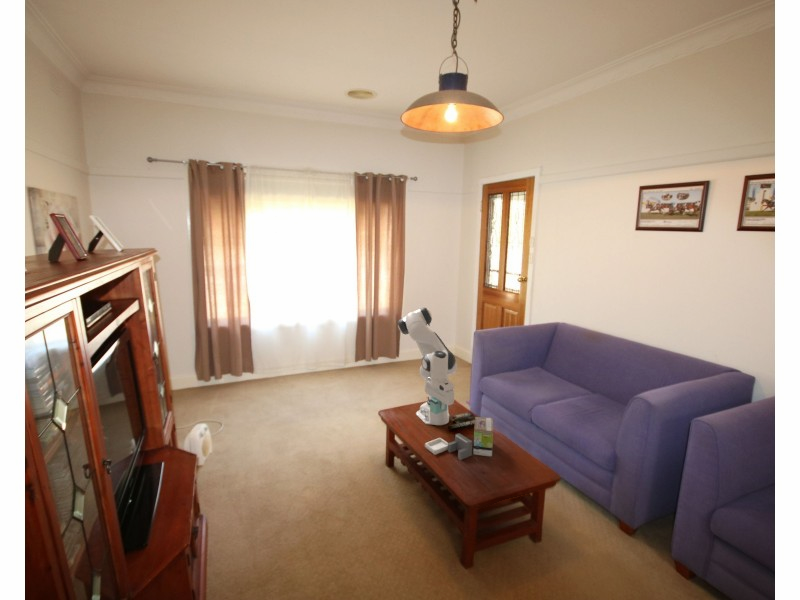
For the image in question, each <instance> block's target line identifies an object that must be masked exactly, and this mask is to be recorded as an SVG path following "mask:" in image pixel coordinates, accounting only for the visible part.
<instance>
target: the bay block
mask: <svg viewBox="0 0 800 600" xmlns="http://www.w3.org/2000/svg"><path fill="white" fill-rule="evenodd" d="M447 443H448V450H447V452H448V453H450V454H451V453H453V452H455V451H457V458H458V460H459V461H462V460H464V459H467V458H469V457H471V456H472V455H473V440H471V439H469V438H468V437H466V436H464V435H463V434H461V433H456V434H454V441H451V442H447Z"/></svg>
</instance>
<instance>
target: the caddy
mask: <svg viewBox="0 0 800 600" xmlns="http://www.w3.org/2000/svg"><path fill="white" fill-rule="evenodd" d="M440 405H442V403H441V401H439V400H437V399H435V398H431V399H430V411H431V412H432V413H434V414H438V413H441V412H444V411H447V405H446V404H445V406H444V409H441V408H440Z"/></svg>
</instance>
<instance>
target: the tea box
mask: <svg viewBox="0 0 800 600" xmlns="http://www.w3.org/2000/svg"><path fill="white" fill-rule="evenodd" d="M473 429H474V430H473V446H472V455H476V456H483V457H484V456H485V457H492V456H493V449H494V447H493V444H494V433H495V431H494V419H493V417H483V416H482V417H481V416H475V418H474V427H473Z"/></svg>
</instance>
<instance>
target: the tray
mask: <svg viewBox="0 0 800 600" xmlns="http://www.w3.org/2000/svg"><path fill="white" fill-rule="evenodd" d="M448 443H449V442H448V441H446V440H444V439H443V438H441V437H438V438H436V439H432V440H430V441H428V442H427V441H426V442H425V443H424V448H425V449H426V450H428V451H429V452H430V453H432V454H433V455H439V454H440V453H443V452H445V451H448Z"/></svg>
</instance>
